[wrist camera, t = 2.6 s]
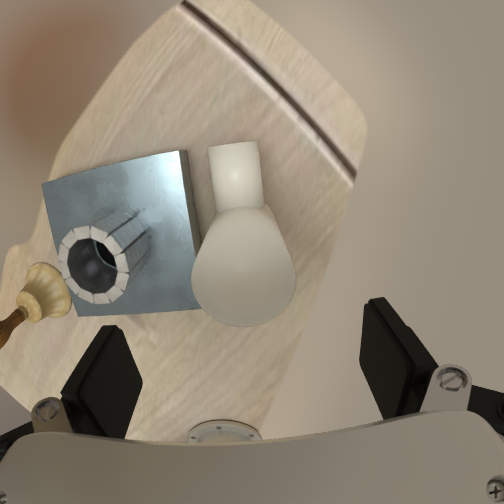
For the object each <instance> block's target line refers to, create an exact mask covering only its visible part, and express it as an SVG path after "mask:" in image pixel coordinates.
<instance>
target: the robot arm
mask: <svg viewBox="0 0 504 504" xmlns="http://www.w3.org/2000/svg"><path fill="white" fill-rule="evenodd" d="M359 362H360V366H361V369H362V371H363V373H364V376H365V378H366V380H367V382H368V385H369V387H370V389H371V391H372V394H373V396H374V398H375V401H376V403H377V405H378V408H379V410H380V412H381V415H382V417H383V420H382V421H377V422H374V423H369V424H364V425H359V426H355V427H349V428H344V429H340V430H334V431H328V432H323V433H316V434H310V435H304V436H296V437H288V438H278V439H268V440H262V437H261V435H260V434H259V433H258V432H257V431H256V430H255V429H253V428H252V427H249V426H247V425H245V424H242V423H238V422H233V421H210V422H206V423H202V424H200V425H197V426H196V427H194V428H193V429H192V430H191V431H190V433H189V436H188V443H176V442H153V441H139V440H128V439H125V435H126V432H127V429H128V426H129V423H130V420H131V418H132V415H133V412H134V409H135V406H136V403H137V400H138V397H139V394H140V392H141V389H142V385H143V382H142V378H141V375H140V373H139V371H138V368H137V366H136V364H135V361H134V359H133V356H132V354H131V351H130V349H129V346H128V344H127V341H126V338H125V336H124V333H123V331H122V329H119V328H118V327H117V326H116V325H105V326H102V327H101V329H100V330H99V332H98V333H97V335H96V336H95V338H94V339H93V341H92V342H91V344H90V345H89V347H88V348H87V350H86V352H85V353H84V355H83V356H82V358H81V359H80V361H79V363H78V364H77V366H76V367H75V369H74V371H73V372H72V374H71V376H70V377H69V379H68V380H67V382H66V384H65V385H64V387H63V389H62V390H61V392H60V393H61V395H62V398H61V400H60V399H58V398H55V397H48V398H45V399H42V400H41V401H39V402H38V403H37V404H36V405H35V406H34V407H33V409H32V412H31V419H32V421H30V422H28V423H26V424H24V425H22V426H20V427H18V428H16V429H13V430H11V431H9V432H7V433H5V434H3V435H1V436H0V504H504V393H501V392H497V391H494V390H490V389H486V388H482V387H478V386H474V385H472V378H471V375H470V373H469V372H468V371H467V370H466V369H464V368H463V367H461V366H458V365H454V364H447V365H443V366H440V367H439V366H438V364H437V363H436V362H435V360H434V359H433V357H432V356H431V355H430V353H429V352H428V351H427V349H426V348H425V347H424V345H423V344H422V343H421V341H420V340H419V338H418V337H417V336H416V335H415V333H414V332H413V330H412V329H411V328H410V327H408V326H406V325H405V323H404V322H403V321H402V319H401V318H400V317H399V315H398V314H397V313H396V311H395V310H394V309H393V308H392V306H391V305H390V304H389V302H388V301H387V300H386V299H385V298H384V297H380V298H374V299H370V300H369V301H368V303H367V304H365V305H364V314H363V326H362V337H361V347H360V357H359Z"/></svg>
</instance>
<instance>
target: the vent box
mask: <svg viewBox="0 0 504 504" xmlns="http://www.w3.org/2000/svg"><path fill="white" fill-rule="evenodd" d="M42 189H43V194H44V200H45V205H46V209H47V214H48V218H49V223H50V227H51V231H52V235H53V239H54V243H55V247H56V250H57V254H58V260H59V262H58V264H59V267H60V270H61V273H62V277H63V279H65V280H66V281H65V283H66V284H67V286H68V289H69V292H70V295H71V298H72V301H73V304H74V307H75V309H76V312H77V315H78V317H82V316H105V315H124V314H141V313H155V312H169V311H182V310H193V309H202V307H201V306H200V305H199V303H198V302H197V300H196V298H195V296H194V293H193V290H192V284H191V274H192V268H193V265H194V262H195V260H196V257H197V255H198V253H199V250H200V248H201V240H200V234H199V228H198V222H197V216H196V210H195V204H194V197H193V191H192V184H191V177H190V170H189V163H188V156H187V150H181V151H174V152H168V153H163V154H158V155H153V156H148V157H143V158H138V159H133V160H129V161H124V162H120V163H116V164H111V165H107V166H103V167H99V168H95V169H91V170H88V171H84V172H80V173H76V174H73V175H69V176H66V177H62V178H59V179H56V180H52V181H49V182H46V183H43V184H42Z"/></svg>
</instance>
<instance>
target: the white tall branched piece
mask: <svg viewBox="0 0 504 504" xmlns="http://www.w3.org/2000/svg"><path fill="white" fill-rule="evenodd" d="M207 150H208V157H209V165H210V172H211V180H212V187H213V194H214V201H215V208H216V213H215V215H214V218H213V220H212V222H211V225H210V227H209V229H208V231H207V234H206V236H205V238H204V241H203V243H202V246H201V248H200V250H199V253H198V255H197V257H196V260H195V262H194V265H193V268H192V274H191V284H192V290H193V293H194V296H195V298H196V300H197V302H198V303H199V305H200V306H201V307H202V309H203V310H204V311H205V312H206V313H207V314H208V315H210V316H211V317H213V318H214V319H216V320H218V321H220V322H222V323H224V324H228V325H231V326H237V327H250V326H256V325H260V324H263V323H266V322H268V321H270V320H272V319H273V318H275V317H276V316H278V315H279V314H280V313H281V312H282V311H283V310H284V309H285V308H286V307H287V305H288V304H289V302H290V301H291V299H292V296H293V294H294V291H295V286H296V273H295V268H294V264H293V262H292V259H291V257H290V254H289V252H288V249H287V247H286V244H285V242H284V239H283V237H282V234H281V232H280V229H279V227H278V225H277V222H276V220H275V217H274V215H273V213H272V210H271V209H270V207H269V206H268V205H267V204H266V203H265V202H264V195H263V186H262V177H261V169H260V160H259V151H258V143H257V141H252V142H242V143H234V144H226V145H219V146H213V147H207Z"/></svg>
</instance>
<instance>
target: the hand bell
mask: <svg viewBox="0 0 504 504" xmlns="http://www.w3.org/2000/svg"><path fill="white" fill-rule="evenodd" d="M65 281H66V280H65V279H63V277H62V274H61V273H60V272H59V271H58V270H57V269H56V268H54V267H53V266H51V265H49V264H47V263H36V264H34V265H32V266H31V267H30V269H29V270H28V272H27V275H26V285H25V287H24V288H23V289H22V290H21V291H20V293H19V294H18V295H17V298H16V304H17V309H16V310H15V311H14V312H13V313H12V314H11V315H10V316H9V317H8V318H7V319H5V320H3V321H0V349H1V348H2V347H3V346H4V345H5V343H6V342H7V341H8V339H9V337H10V335H11V333H12V331H13V330H14V329H15V328H16V327H17V326H18V325H19V324H20V323H21V322H23V321H24V320H25V319H26V320H27V321H29V322H31V323H37V322H39V321H40V320H41V319H43V318H45V317H47V316H49V317H52V318H58V317H62V316H64V315H66V314H67V313H68V311H69V310H70V307H71V301H72V299H71V295H70V292H69V289H68V286H67V284H66V283H65Z"/></svg>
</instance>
